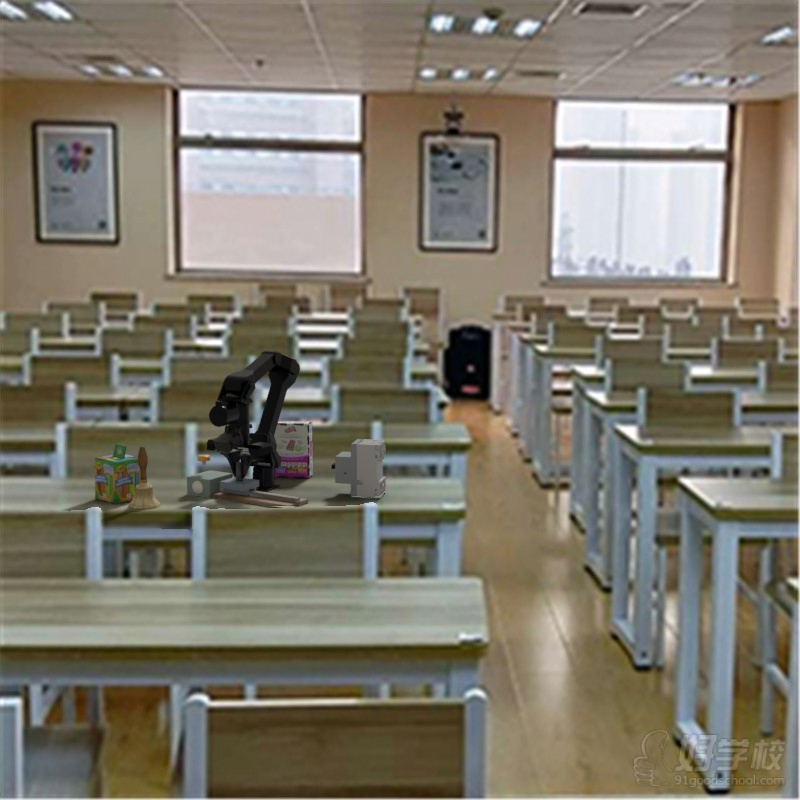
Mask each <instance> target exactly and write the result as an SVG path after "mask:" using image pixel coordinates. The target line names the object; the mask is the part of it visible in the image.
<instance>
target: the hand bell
mask: <svg viewBox="0 0 800 800" xmlns="http://www.w3.org/2000/svg"><path fill="white" fill-rule="evenodd" d="M137 457H138V464H139V467H140V477H141V478H140V479H141V483H140V484H139V485H137V486H136V487H135V495H134V498H133V500H131V501H129V503H128V507H129V508H130V509H134V510H150V509H155V508H158V507H160V506H161V502H160V500H158V499H157V498H156V496H155V492H154V486H153V485H152V484H150V483H149V482H148V477H147V467H148V464H149V462H148V461H149V458H148V457H149V456H148V453H147V450H146V447H145V446H139V449H138V454H137Z"/></svg>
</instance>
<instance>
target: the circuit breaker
mask: <svg viewBox="0 0 800 800" xmlns="http://www.w3.org/2000/svg"><path fill="white" fill-rule="evenodd" d="M386 454H387V446H386V440H385V439H384V440H383V439H369V438H367V439H365V438H357V439H355V441H353V442H352V443H350V451H340V452H339V453H338V454H337V455H336V456H335V457H334V458H335V460H334V463H332V464H331V465H330V466H331V470H335V471H334V481H335V482H334V483H335V484H341V485H342V484H343V485H350V498H353V497H352V496H361V497H375V496H380V495H381V494H383V492H384V491H385V492H386V487H387V483H386V482H387V481H386V479H387V477H386V476H384V475H383V467H384V466H383V465H384V464H383V463H384V462H383V460H385V456H386Z"/></svg>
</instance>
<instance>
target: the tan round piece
mask: <svg viewBox="0 0 800 800" xmlns="http://www.w3.org/2000/svg"><path fill="white" fill-rule="evenodd" d="M196 458H197V461H198V462H201V465H203V466H204V465H207V462H210V461H211V455H210V454H199V455H197V456H196Z"/></svg>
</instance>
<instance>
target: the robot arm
mask: <svg viewBox="0 0 800 800" xmlns="http://www.w3.org/2000/svg"><path fill="white" fill-rule="evenodd" d="M300 372H301V366H300V363H299V362H298V361H297V359H295V358H292V357H289V356H286V355H285V354H283V353H281V352H279V351H276V350H264V351H262V352H261V353H260V355H259V356H258V357H257V358H256V359H255V360H253V361H252V362H251V363H249V364H248V365H247V366H246V367H245V368H244V369H243V370H239V371H234V372H232V373H230V374H228V375H227V376H226V377H225V378H224V381H223V383H222V385H221V387H220V388H221V389H220V391H219V393H218V396H217V399H216V400H215V403H214V404H215V406H214V405H213V406H212V408H211V409H210V410H209V413H208V418H209V422H210V423H211V424H212V425H213V426H215V427H217V428H221V427H224V431H223V433H221V434H219V435H218V436H217V437H214V438H210V439H207V441H206V443H205V445H206V446H205V447H206V448H205V449H206V451H214V452H215V451H216V452H218V453H219V454H220V455H222V456H223V457H224V458H225V459H226V460H227V462H228V463H229V466H230V469H231V472H232V475H233V478H234V477H236V462H241V478H246V476H247V473H248V471H249V469H250V467H252V479H255V480H259V487H256V490H259V491H260V490H262V491H270V490H272V489H275V488H276V489H277V488H279V487H280V484H278V483H276V477H275V468H279V466H281V461H282V458H281V457H280V455H279V454H278V452H277V451H276V449H277V443H276V440H275V437H274V434H275V431H276V427H277V424H278V421H280V417H281V413H282V409H283V406H284V402H285V399H286V395H287V391H288V389H290V388H291V387H292V386H293V385H294V384H295V383H296V381H297V378H298V376H299V374H300ZM266 374H267V376H268V379H269V382H270V386H269V389H268V394H267V397H266V400H265V404H264V407H263V410H262V413H261V416H260V420H259V424H258V427H257V430H256V431H255V432H250V429H253V424H252V423H250V404H252V403H253V399H252V398H251V397H250V396H251V395H252V393H254V391H255V390H256V384H257V382H259V381H260V380H261V379H262V378H263V377H264V376H265V375H266ZM241 451H242V453H241Z"/></svg>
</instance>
